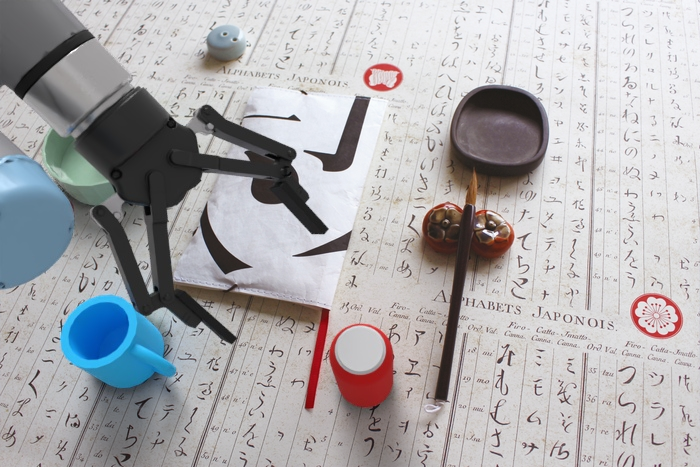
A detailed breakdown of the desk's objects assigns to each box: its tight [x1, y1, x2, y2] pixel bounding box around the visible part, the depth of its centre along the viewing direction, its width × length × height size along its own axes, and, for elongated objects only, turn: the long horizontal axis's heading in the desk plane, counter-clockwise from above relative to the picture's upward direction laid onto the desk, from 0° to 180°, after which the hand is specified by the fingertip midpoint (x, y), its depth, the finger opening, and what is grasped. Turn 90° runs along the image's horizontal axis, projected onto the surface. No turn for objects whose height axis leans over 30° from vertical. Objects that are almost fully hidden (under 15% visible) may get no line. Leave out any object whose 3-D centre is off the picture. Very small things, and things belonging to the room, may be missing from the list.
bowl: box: [41, 126, 115, 207], centre depth 78 cm, size 16×16×5 cm
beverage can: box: [328, 323, 394, 409], centre depth 57 cm, size 6×6×12 cm
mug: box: [59, 294, 177, 389], centre depth 62 cm, size 12×8×8 cm
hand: (277, 283), depth 54 cm, fingers open, 13 cm apart
